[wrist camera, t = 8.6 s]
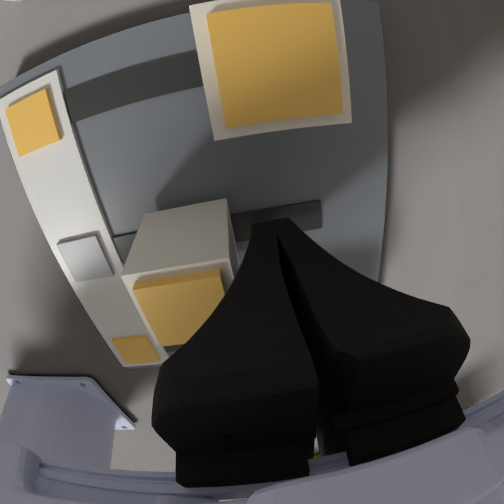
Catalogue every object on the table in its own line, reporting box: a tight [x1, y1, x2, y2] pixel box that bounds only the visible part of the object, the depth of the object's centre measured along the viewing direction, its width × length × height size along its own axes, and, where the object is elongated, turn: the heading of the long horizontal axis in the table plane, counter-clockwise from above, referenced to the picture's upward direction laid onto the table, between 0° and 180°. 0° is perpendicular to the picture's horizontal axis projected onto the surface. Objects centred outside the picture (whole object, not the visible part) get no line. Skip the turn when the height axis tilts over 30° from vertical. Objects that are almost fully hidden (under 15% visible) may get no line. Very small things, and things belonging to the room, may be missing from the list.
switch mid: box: [121, 198, 240, 346], centre depth 10 cm, size 3×3×4 cm
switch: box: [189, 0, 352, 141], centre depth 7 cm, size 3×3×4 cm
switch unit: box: [0, 0, 388, 369], centre depth 13 cm, size 14×16×2 cm
